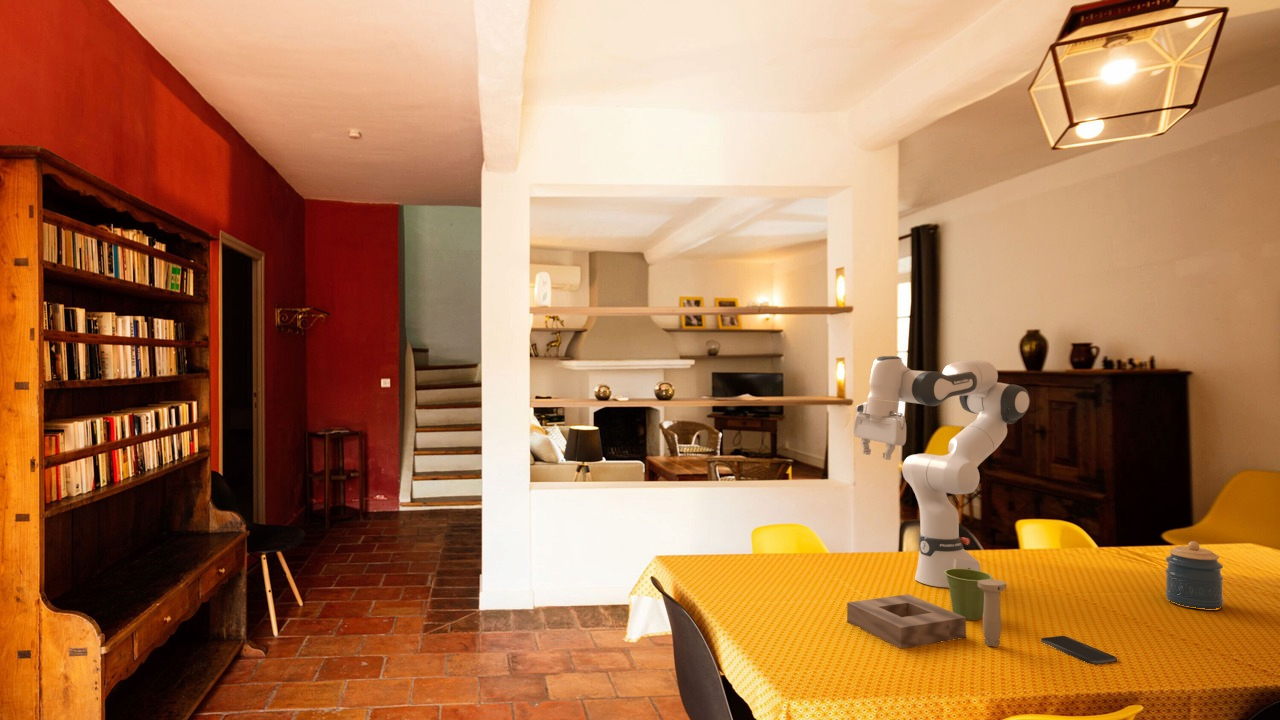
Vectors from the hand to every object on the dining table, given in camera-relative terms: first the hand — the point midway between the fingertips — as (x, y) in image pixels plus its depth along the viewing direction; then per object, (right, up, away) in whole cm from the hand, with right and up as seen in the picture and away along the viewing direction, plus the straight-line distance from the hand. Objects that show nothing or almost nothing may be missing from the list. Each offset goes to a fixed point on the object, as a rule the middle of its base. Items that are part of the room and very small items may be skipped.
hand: (876, 456), depth 218 cm
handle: (+14, -40, -41) cm, 59 cm away
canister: (+87, -41, -9) cm, 96 cm away
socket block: (-3, -40, -31) cm, 50 cm away
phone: (+33, -40, -45) cm, 69 cm away
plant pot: (+18, -40, -20) cm, 48 cm away
